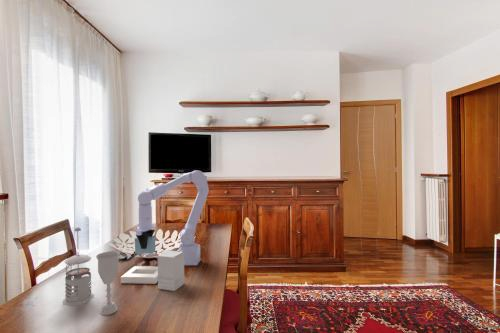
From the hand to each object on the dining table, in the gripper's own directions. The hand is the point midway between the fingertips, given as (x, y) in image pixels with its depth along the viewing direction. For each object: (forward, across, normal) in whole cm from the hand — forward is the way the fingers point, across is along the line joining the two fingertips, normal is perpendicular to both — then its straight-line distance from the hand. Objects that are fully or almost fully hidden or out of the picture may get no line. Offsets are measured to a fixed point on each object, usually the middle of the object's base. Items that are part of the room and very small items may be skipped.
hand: (145, 247), depth 131 cm
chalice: (+9, +39, +5) cm, 40 cm away
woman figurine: (+9, -15, -15) cm, 23 cm away
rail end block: (+2, 0, 0) cm, 2 cm away
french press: (+9, +31, -11) cm, 34 cm away
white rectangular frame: (+9, +12, +5) cm, 16 cm away
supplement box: (+9, +20, +19) cm, 29 cm away
